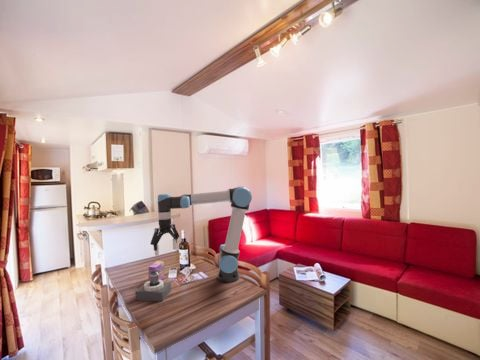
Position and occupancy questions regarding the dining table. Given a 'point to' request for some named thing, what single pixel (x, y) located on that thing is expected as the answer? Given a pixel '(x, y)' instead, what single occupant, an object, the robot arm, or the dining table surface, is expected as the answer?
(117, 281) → the dining table surface
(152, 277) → the lens
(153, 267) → the box
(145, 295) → the camera body
